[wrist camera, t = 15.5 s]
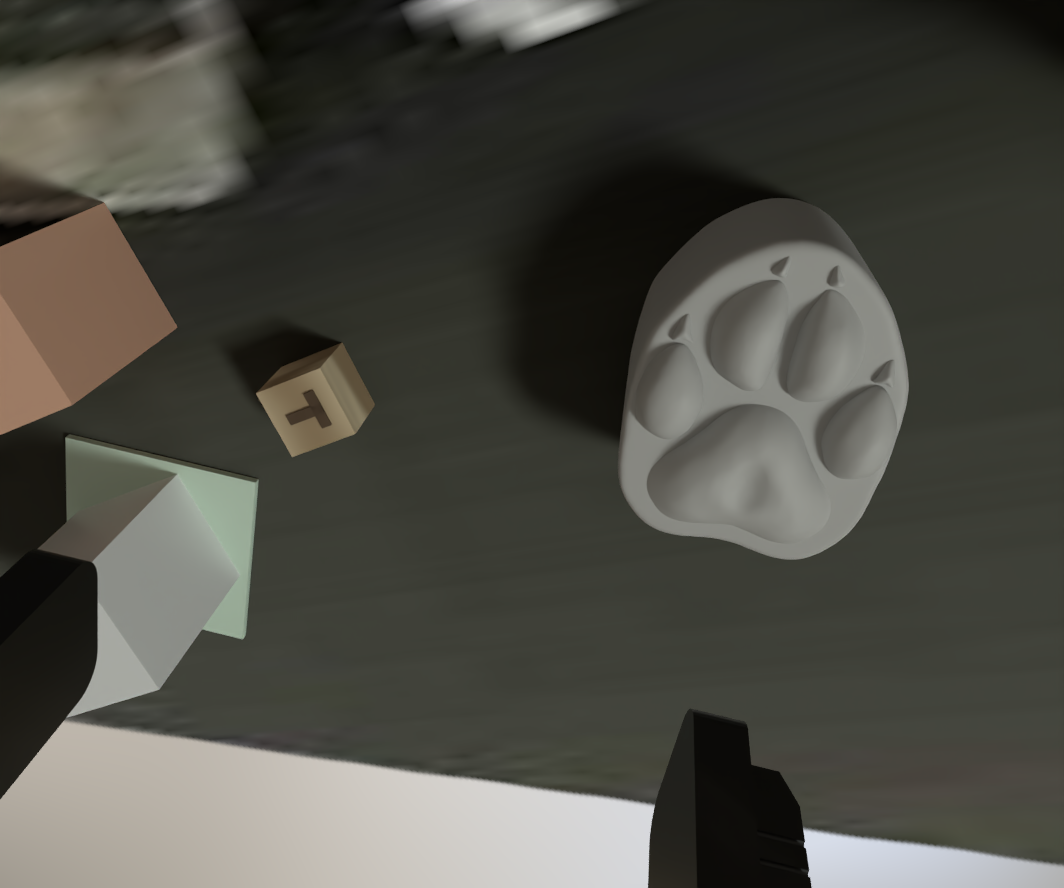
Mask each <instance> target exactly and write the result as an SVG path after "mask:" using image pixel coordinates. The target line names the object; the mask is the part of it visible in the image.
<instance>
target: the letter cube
mask: <svg viewBox="0 0 1064 888" xmlns="http://www.w3.org/2000/svg"><path fill="white" fill-rule="evenodd" d="M256 395H257V396H258V398H259V400H260V402H261V403H262V405H263V407H264V409H265V410H266V412H267V414H268V416H269V417H270V419H271V421H272V422H273V424H274V426H275V428H276V429H277V431H278V433H279V435H280V436H281V438H282V440H283V442H284V443H285V445H286V447H287V449H288V450H289V452H290V454H291V456H292V457H294V456H296V455H299V454H302V453H305V452H307V451H310V450H313V449H315V448H318V447H321V446H324V445H326V444H329V443H332V442H334V441H337V440H340V439H342V438H345V437H348V436H351V435H353V434H356V432H357V431H358V429H359V428H360V426H361V425H362V423H363V422H364V420H365V419H366V417H367V416H368V414H369V413H370V411H371V410H372V409H373V407H374V406H375V404H374V402H373V400H372V398H371V396H370V394H369V393H368V391H367V389H366V387H365V385H364V383H363V381H362V379H361V377H360V376H359V374H358V372H357V370H356V368H355V366H354V364H353V362H352V360H351V359H350V357H349V355H348V353H347V351H346V349H345V347H344V345H343V343H340V344H337V345H335V346H332V347H330V348H327V349H325V350H322V351H320V352H317V353H315V354H312V355H310V356H307V357H305V358H302V359H300V360H297V361H295V362H292V363H290V364H287V365H285V366H282V367H281V368H280V369H279V370H278V371H277V372H276V373H275V374H274V375H273V376H272V377H271V378H270V379H269V380H268V381H267V382H266V383H265V384H264V385H263V387H262V388H261V389H260V390H259V391H258V392H257V393H256Z"/></svg>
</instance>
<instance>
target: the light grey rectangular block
mask: <svg viewBox="0 0 1064 888" xmlns="http://www.w3.org/2000/svg"><path fill="white" fill-rule="evenodd" d="M38 549H40V550H44V551H49V552H53V553H57V554H61V555H65V556H69V557H73V558H77V559H82V560H86V561H90V562H92V563H93V564H94V565H95V567H96V569H97V575H98V653H97V661H96V666H95V670H94V673H93V676H92V679H91V681H90V683H89V686H88V688H87V690H86V692H85V693H84V695H83V697H82V698H81V699H80V701H79V702H78V703H77V705H76V706H75V707H74V708H73V710H72V711H71V712H70V713H69V715H68V716H67V717H70V716H74V715H77V714H80V713H84V712H87V711H90V710H93V709H97V708H100V707H103V706H107V705H110V704H113V703H117V702H120V701H123V700H126V699H130V698H133V697H136V696H140V695H143V694H146V693H149V692H153V691H156V690H159V689H160V688H161V686H162V685H163V684H164V682H165V681H166V679H167V678H168V676H169V675H170V674H171V672H172V671H173V669H174V668H175V667H176V665H177V664H178V662H179V661H180V660H181V658H182V657H183V655H184V654H185V653H186V651H187V650H188V648H189V647H190V645H191V644H192V643H193V641H194V640H195V638H196V637H197V636H198V634H199V633H200V631H201V630H202V629H203V627H204V626H205V624H206V623H207V622H208V620H209V619H210V617H211V616H212V614H213V613H214V612H215V610H216V609H217V607H218V606H219V605H220V603H221V602H222V600H223V599H224V598H225V596H226V595H227V593H228V592H229V590H230V589H231V588H232V586H233V585H234V583H235V582H236V581H237V579H238V578H239V576H240V574H239V572H238V570H237V569H236V567H235V566H234V564H233V562H232V561H231V559H230V558H229V556H228V554H227V553H226V551H225V550H224V548H223V546H222V545H221V543H220V542H219V540H218V538H217V537H216V535H215V533H214V532H213V530H212V529H211V527H210V525H209V524H208V522H207V521H206V519H205V517H204V516H203V514H202V513H201V511H200V509H199V508H198V506H197V505H196V503H195V501H194V500H193V498H192V496H191V495H190V493H189V492H188V490H187V488H186V487H185V485H184V484H183V482H182V480H181V479H180V477H179V476H178V474H176V475H173V476H171V477H168V478H165V479H163V480H160V481H157V482H155V483H152V484H149V485H147V486H144V487H141V488H139V489H136V490H133V491H131V492H128V493H125V494H123V495H120V496H117V497H115V498H112V499H109V500H107V501H104V502H101V503H99V504H96V505H93V506H91V507H88V508H85V509H83V510H80V511H78V512H77V513H76V514H75V515H74V516H73V517H72V518H71V519H70V520H68V521H67V522H66V523H65V524H64V525H63V526H62V527H61V528H60V529H59V530H58V531H56V532H55V533H54V534H53V535H52V536H51V537H50V538H49V539H48V540H47V541H46V542H45V543H43V544H42V545H41V546H40V547H39V548H38ZM67 717H66V718H67Z"/></svg>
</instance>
